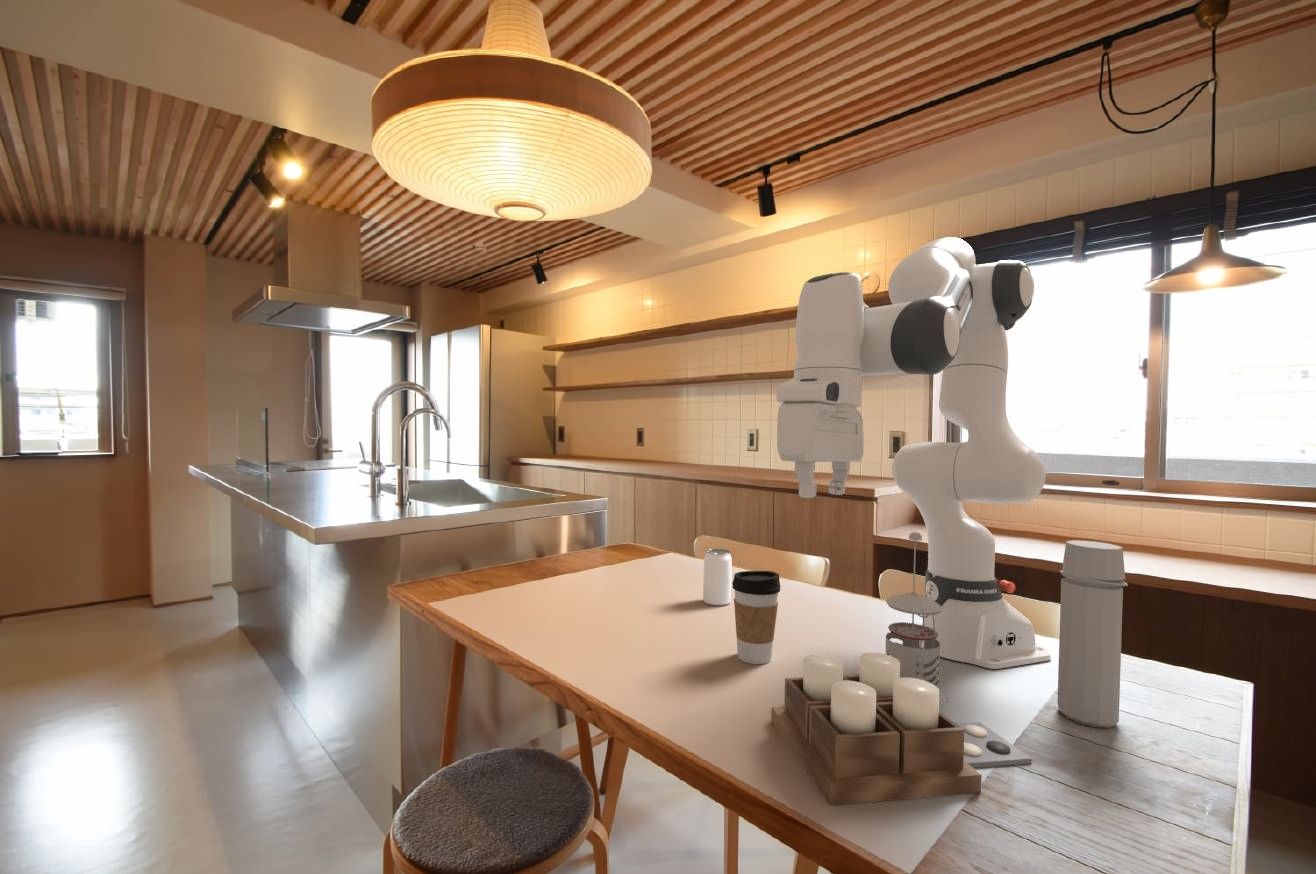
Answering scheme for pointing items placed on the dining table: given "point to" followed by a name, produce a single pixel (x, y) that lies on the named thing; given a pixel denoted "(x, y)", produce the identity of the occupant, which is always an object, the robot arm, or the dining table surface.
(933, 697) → the button
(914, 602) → the french press
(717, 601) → the can
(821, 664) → the button
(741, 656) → the coffee cup
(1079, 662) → the water bottle
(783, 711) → the button board
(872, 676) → the button
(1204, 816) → the dining table surface
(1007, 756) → the pattern card
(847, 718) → the button
